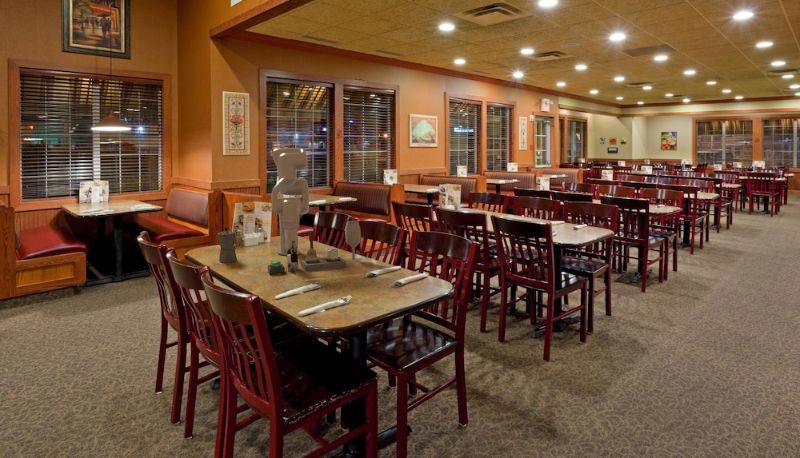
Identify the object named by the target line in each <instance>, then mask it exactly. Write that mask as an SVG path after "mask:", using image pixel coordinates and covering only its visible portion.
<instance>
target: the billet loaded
mask: <svg viewBox="0 0 800 458" xmlns="http://www.w3.org/2000/svg"><path fill="white" fill-rule="evenodd" d="M338 257H339V250H338V248H328V249H327V258H328V262H337V261H338Z"/></svg>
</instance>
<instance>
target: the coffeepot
mask: <svg viewBox="0 0 800 458" xmlns="http://www.w3.org/2000/svg"><path fill="white" fill-rule="evenodd" d="M216 235H217V239H218V242H219V246H220V249H219V258H218V261H219V262H220V263H222V262H224V264H226V263H227V264H228V263H234V262H237V261H238V258H237V254H236V253H237V252H236V249H235V244H236V243H235V242H236V232H235V231H232V230H230V229H229V228H228V227H224V231H220V232H217V234H216Z"/></svg>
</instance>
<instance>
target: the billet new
mask: <svg viewBox="0 0 800 458" xmlns="http://www.w3.org/2000/svg"><path fill="white" fill-rule="evenodd" d="M286 256H287V257H286V258H287V259H286V260H287V272H288V273H296V271H298V270H299V261H298V262H296V263H291V254H288V255H286Z"/></svg>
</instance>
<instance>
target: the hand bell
mask: <svg viewBox="0 0 800 458" xmlns="http://www.w3.org/2000/svg"><path fill="white" fill-rule="evenodd" d="M314 238H315V234H314V233H313V230H310V231H309V234H308V241H309V250H307V253H306V257H305V258H304V260H310V259H320V258H319V257H318V255H317V251H316V250H315V249H314V240H315V239H314Z"/></svg>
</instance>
